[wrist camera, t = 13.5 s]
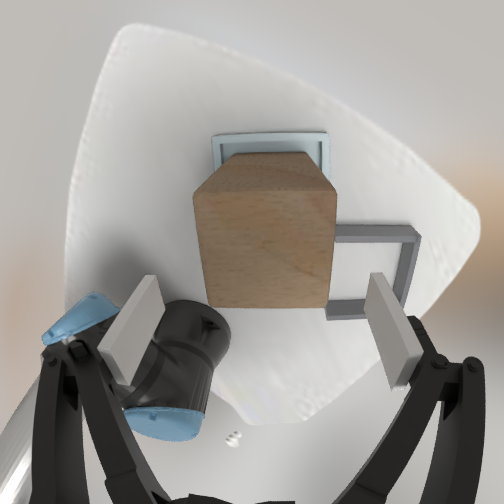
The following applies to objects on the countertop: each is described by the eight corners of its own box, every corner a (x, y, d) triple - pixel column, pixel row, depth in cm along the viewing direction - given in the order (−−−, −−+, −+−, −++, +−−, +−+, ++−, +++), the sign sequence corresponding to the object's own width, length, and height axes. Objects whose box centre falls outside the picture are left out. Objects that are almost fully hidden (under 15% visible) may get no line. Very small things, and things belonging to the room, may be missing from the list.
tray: (224, 235, 43) (221, 242, 41) (215, 135, 36) (211, 137, 34) (324, 234, 41) (326, 241, 39) (326, 132, 34) (329, 133, 32)
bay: (323, 305, 47) (326, 320, 44) (331, 224, 40) (336, 235, 37) (394, 302, 46) (401, 316, 43) (411, 225, 39) (421, 236, 36)
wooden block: (232, 152, 36) (189, 192, 19) (307, 151, 35) (339, 189, 18) (237, 221, 41) (207, 309, 23) (306, 220, 40) (328, 310, 22)
